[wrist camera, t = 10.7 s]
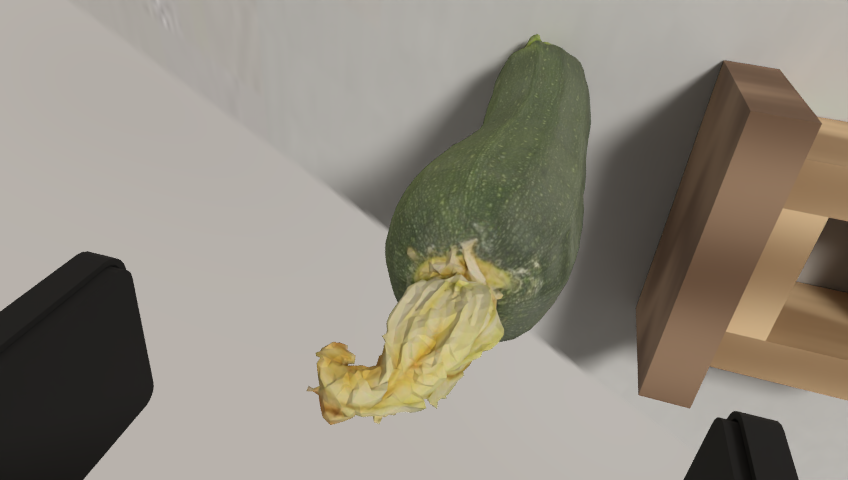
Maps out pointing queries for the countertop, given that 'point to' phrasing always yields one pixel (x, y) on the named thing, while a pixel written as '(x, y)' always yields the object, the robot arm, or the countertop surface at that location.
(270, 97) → the countertop surface
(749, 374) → the socket block
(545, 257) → the vegetable
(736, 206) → the wall
